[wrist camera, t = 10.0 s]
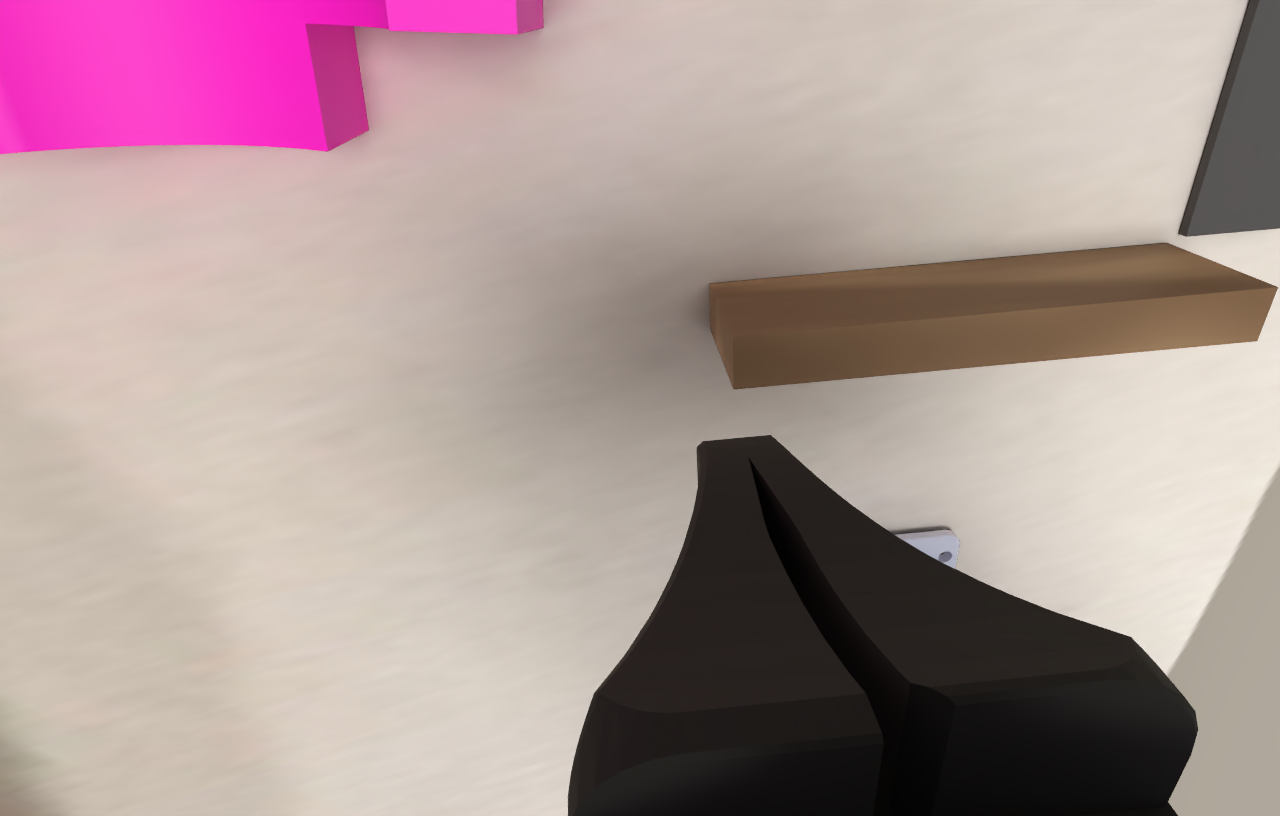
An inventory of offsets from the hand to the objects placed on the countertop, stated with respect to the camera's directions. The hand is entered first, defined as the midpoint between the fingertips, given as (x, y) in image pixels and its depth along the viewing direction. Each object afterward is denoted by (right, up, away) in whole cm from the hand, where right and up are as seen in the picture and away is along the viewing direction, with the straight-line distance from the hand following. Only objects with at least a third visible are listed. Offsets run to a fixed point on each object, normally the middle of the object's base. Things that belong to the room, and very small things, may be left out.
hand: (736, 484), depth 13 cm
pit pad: (+16, +11, +7) cm, 20 cm away
